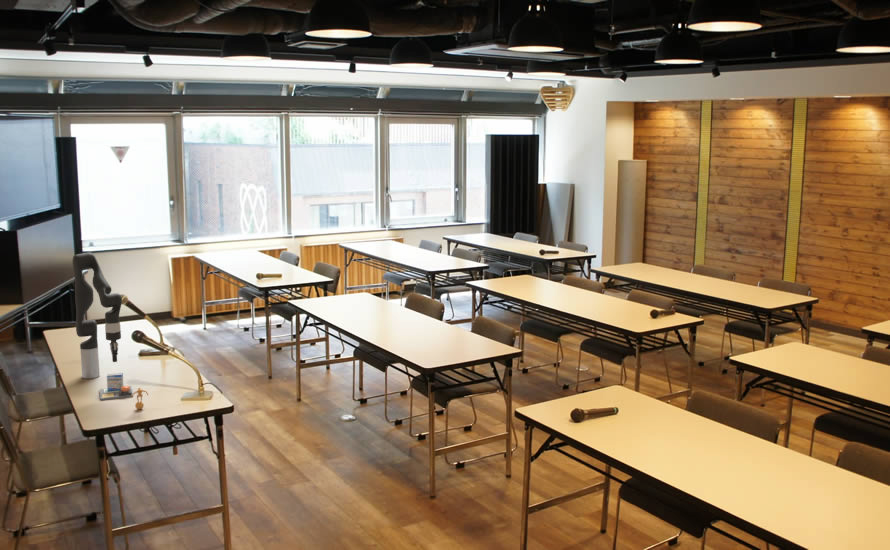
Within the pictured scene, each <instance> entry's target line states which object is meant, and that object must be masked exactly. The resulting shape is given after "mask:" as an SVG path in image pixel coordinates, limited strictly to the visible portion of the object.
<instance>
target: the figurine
mask: <svg viewBox="0 0 890 550" xmlns="http://www.w3.org/2000/svg"><path fill="white" fill-rule="evenodd" d="M142 393H146V395H147V396H149V394H148V392H147V391H146V390H143V389H142V388H141V387H138V389H137V390H136V391H135V392H133V395H132V396H133V397H134V395H135V394H137V395H136V403H135V404H134V405H135V409H137V410H142V409H143V408H144V406H145V405H144V403H143V401H142V400H143V394H142ZM132 396H131V397H130V398H131V399H132ZM139 398H140V401H139Z"/></svg>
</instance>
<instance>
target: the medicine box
mask: <svg viewBox="0 0 890 550" xmlns="http://www.w3.org/2000/svg"><path fill="white" fill-rule="evenodd" d="M106 384H107V385H106V386H107V387H106V388H107V389H108V391H116V390H121V387H122V386H125V385H124V373H123V372H117V373H107V374H106Z"/></svg>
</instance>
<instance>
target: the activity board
mask: <svg viewBox="0 0 890 550" xmlns="http://www.w3.org/2000/svg"><path fill="white" fill-rule="evenodd" d="M129 386H130V390H129V391H126V392H123V391H121V390H116V391H108V389H107V387H106V388H100V389H99V398H100V401H107V400H108V401H109V400H117V399H125V398H131V396H132V395H133V393H134V392H133V387H132V385H129ZM132 397H134V395H133V396H132Z"/></svg>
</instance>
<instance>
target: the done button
mask: <svg viewBox="0 0 890 550" xmlns="http://www.w3.org/2000/svg"><path fill="white" fill-rule="evenodd" d="M130 386H131V385H124V386H122V387H121V391H123V392H126V391H129V390H130Z"/></svg>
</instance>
